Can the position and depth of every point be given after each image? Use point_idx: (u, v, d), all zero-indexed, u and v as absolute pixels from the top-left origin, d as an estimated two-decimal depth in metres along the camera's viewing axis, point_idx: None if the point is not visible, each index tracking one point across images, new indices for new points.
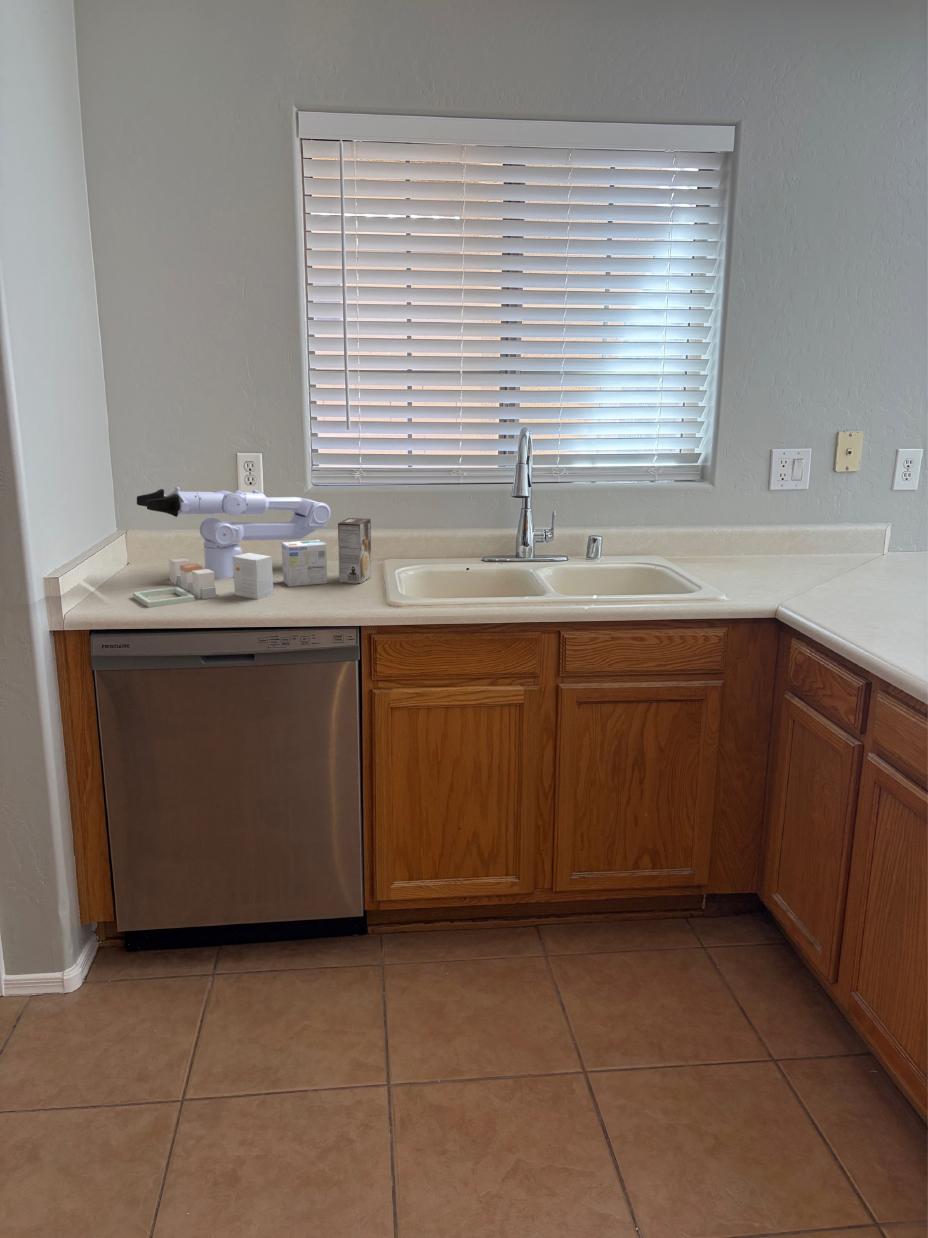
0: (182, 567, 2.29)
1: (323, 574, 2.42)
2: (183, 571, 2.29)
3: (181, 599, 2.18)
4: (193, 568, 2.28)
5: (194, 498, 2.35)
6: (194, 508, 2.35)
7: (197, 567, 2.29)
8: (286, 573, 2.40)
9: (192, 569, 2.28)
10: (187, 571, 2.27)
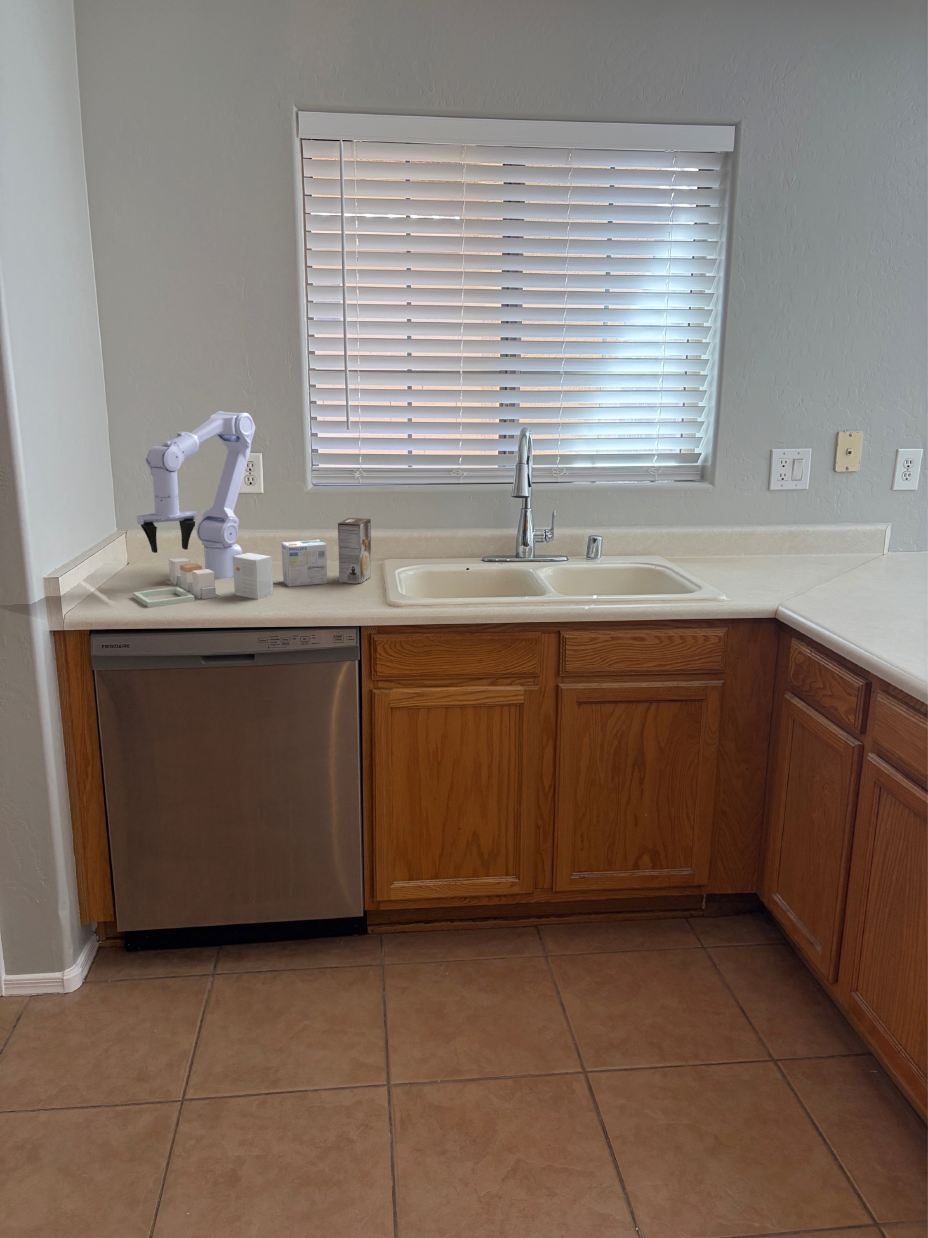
0: (182, 567, 2.29)
1: (323, 574, 2.42)
2: (183, 571, 2.29)
3: (181, 599, 2.18)
4: (193, 568, 2.28)
5: (178, 500, 2.26)
6: None
7: (197, 567, 2.29)
8: (286, 573, 2.40)
9: (192, 569, 2.28)
10: (187, 571, 2.27)
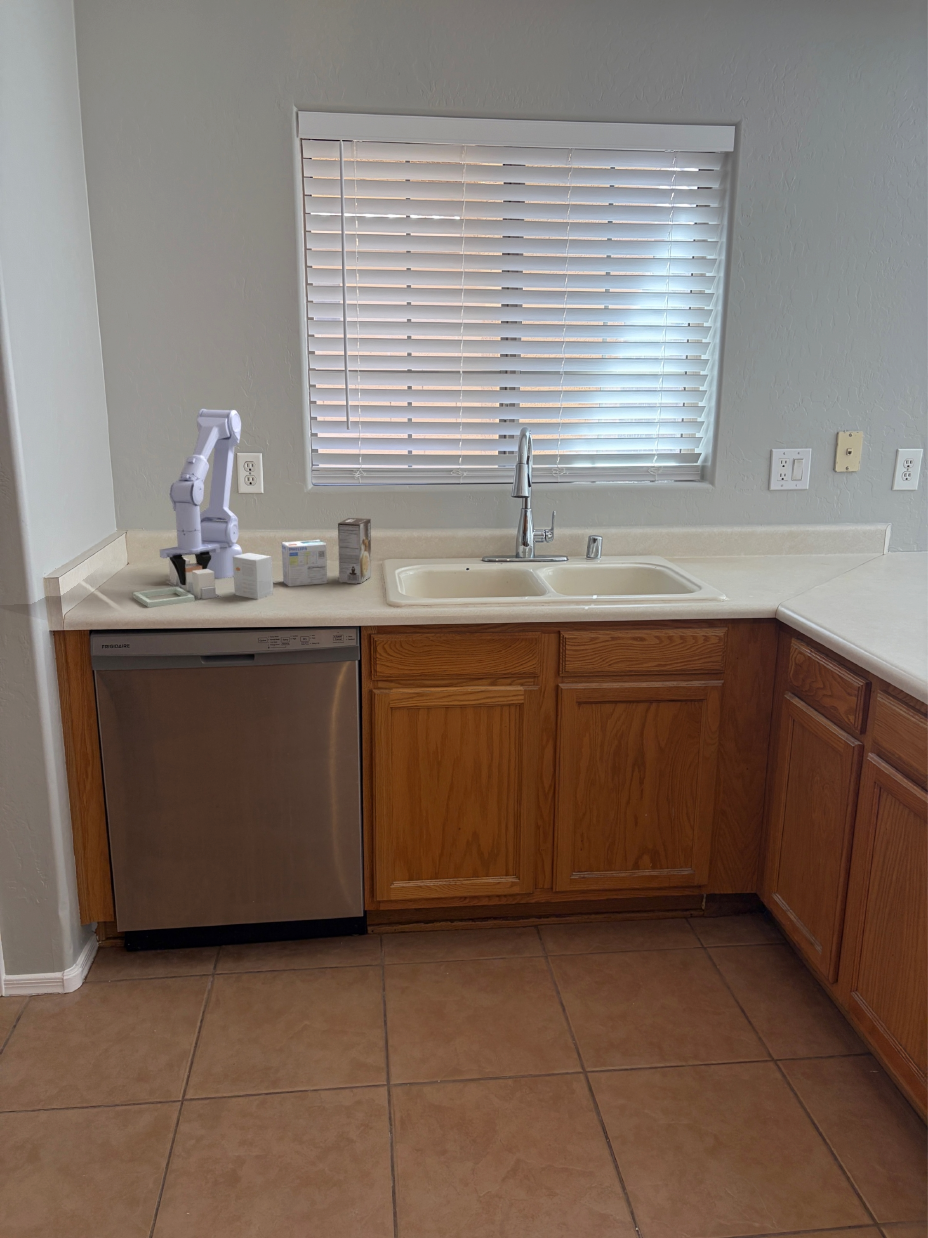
0: None
1: (323, 574, 2.42)
2: None
3: (181, 599, 2.18)
4: (193, 568, 2.28)
5: (200, 534, 2.28)
6: None
7: (197, 567, 2.29)
8: (286, 573, 2.40)
9: (192, 569, 2.28)
10: (187, 571, 2.27)
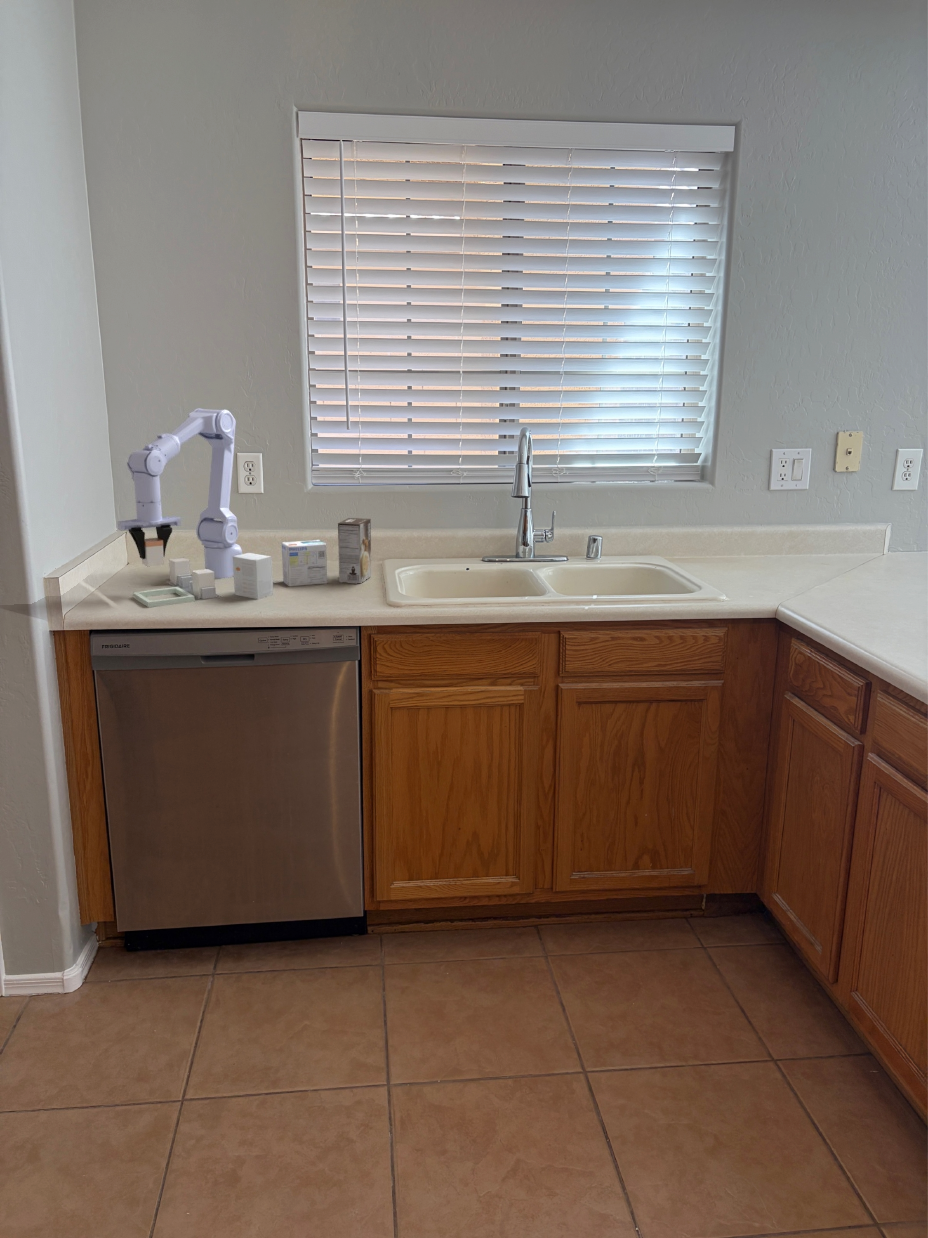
0: None
1: (323, 574, 2.42)
2: None
3: (181, 599, 2.18)
4: (154, 542, 2.20)
5: (160, 506, 2.20)
6: None
7: (158, 542, 2.21)
8: (286, 573, 2.40)
9: (152, 544, 2.20)
10: (147, 546, 2.19)
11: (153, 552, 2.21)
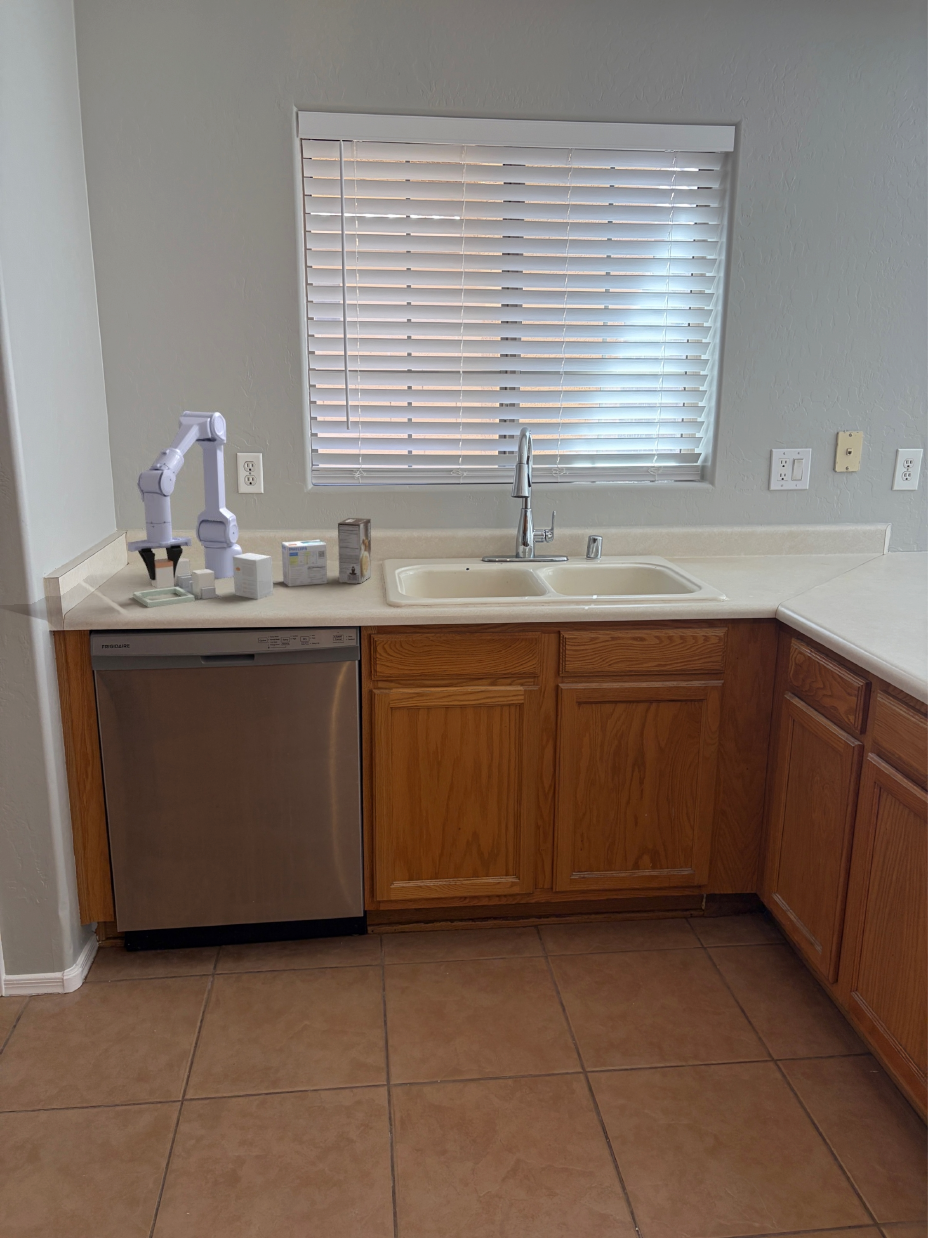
0: None
1: (323, 574, 2.42)
2: None
3: (181, 599, 2.18)
4: (163, 564, 2.17)
5: (171, 526, 2.16)
6: None
7: (168, 563, 2.17)
8: (286, 573, 2.40)
9: (162, 565, 2.17)
10: (157, 567, 2.16)
11: (163, 573, 2.17)
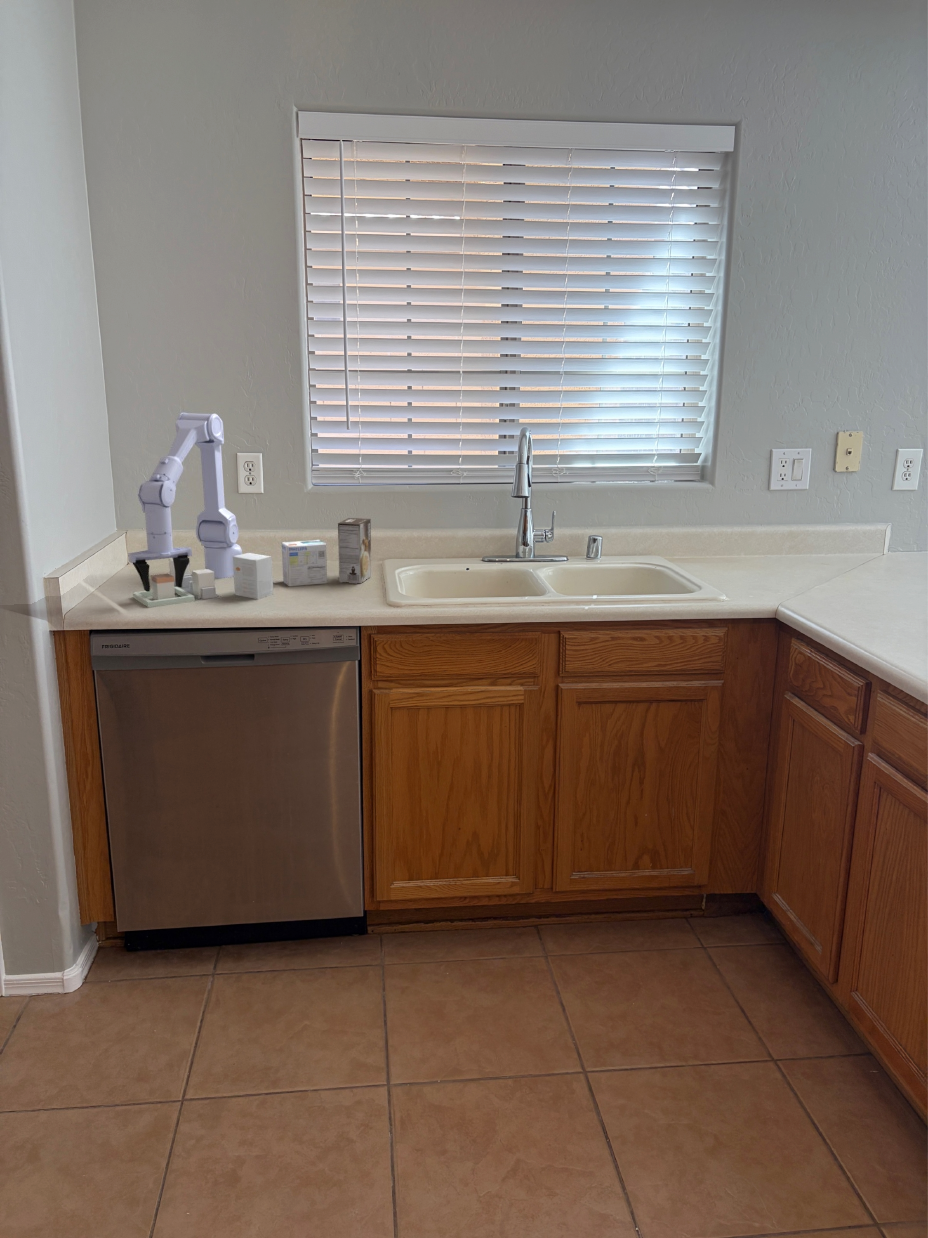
0: (153, 578, 2.18)
1: (323, 574, 2.42)
2: (154, 583, 2.19)
3: (181, 599, 2.18)
4: (165, 579, 2.18)
5: (171, 537, 2.17)
6: None
7: (169, 578, 2.18)
8: (286, 573, 2.40)
9: (163, 580, 2.18)
10: (158, 582, 2.17)
11: (164, 588, 2.18)
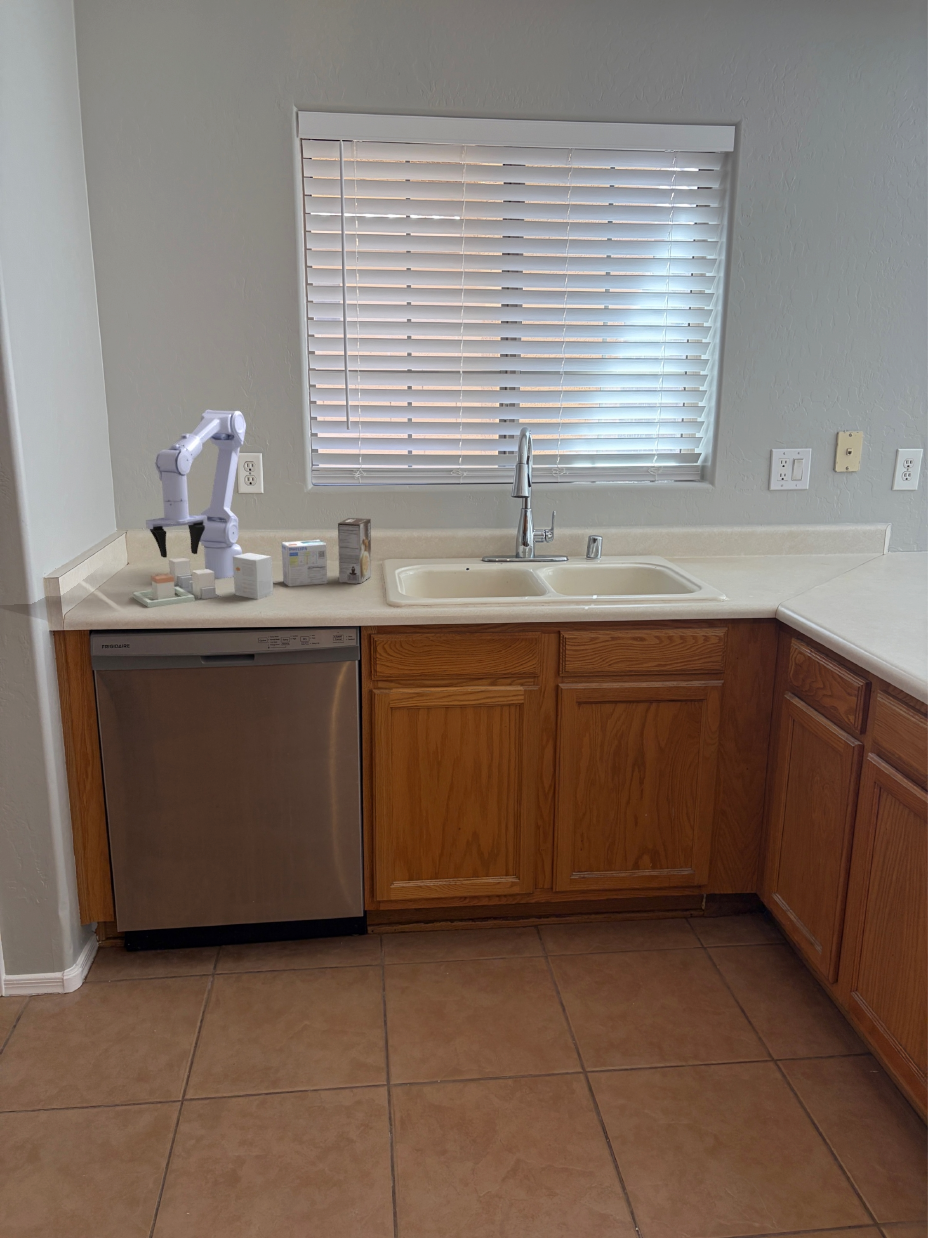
0: (153, 578, 2.18)
1: (323, 574, 2.42)
2: (154, 583, 2.19)
3: (181, 599, 2.18)
4: (165, 579, 2.18)
5: (187, 504, 2.24)
6: None
7: (169, 578, 2.18)
8: (286, 573, 2.40)
9: (163, 580, 2.18)
10: (158, 582, 2.17)
11: (164, 588, 2.18)
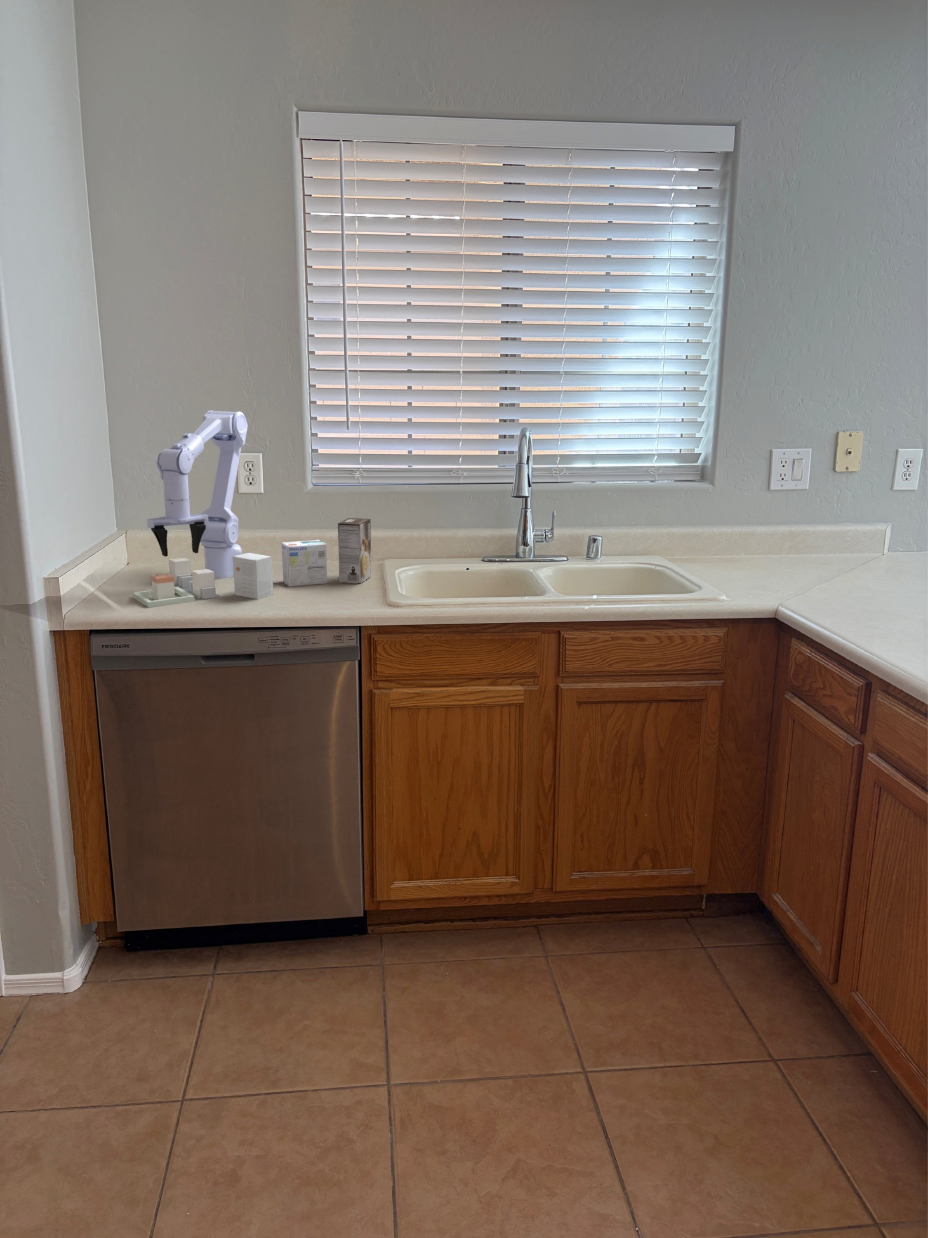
0: (153, 578, 2.18)
1: (323, 574, 2.42)
2: (154, 583, 2.19)
3: (181, 599, 2.18)
4: (165, 579, 2.18)
5: None
6: None
7: (169, 578, 2.18)
8: (286, 573, 2.40)
9: (163, 580, 2.18)
10: (158, 582, 2.17)
11: (164, 588, 2.18)
